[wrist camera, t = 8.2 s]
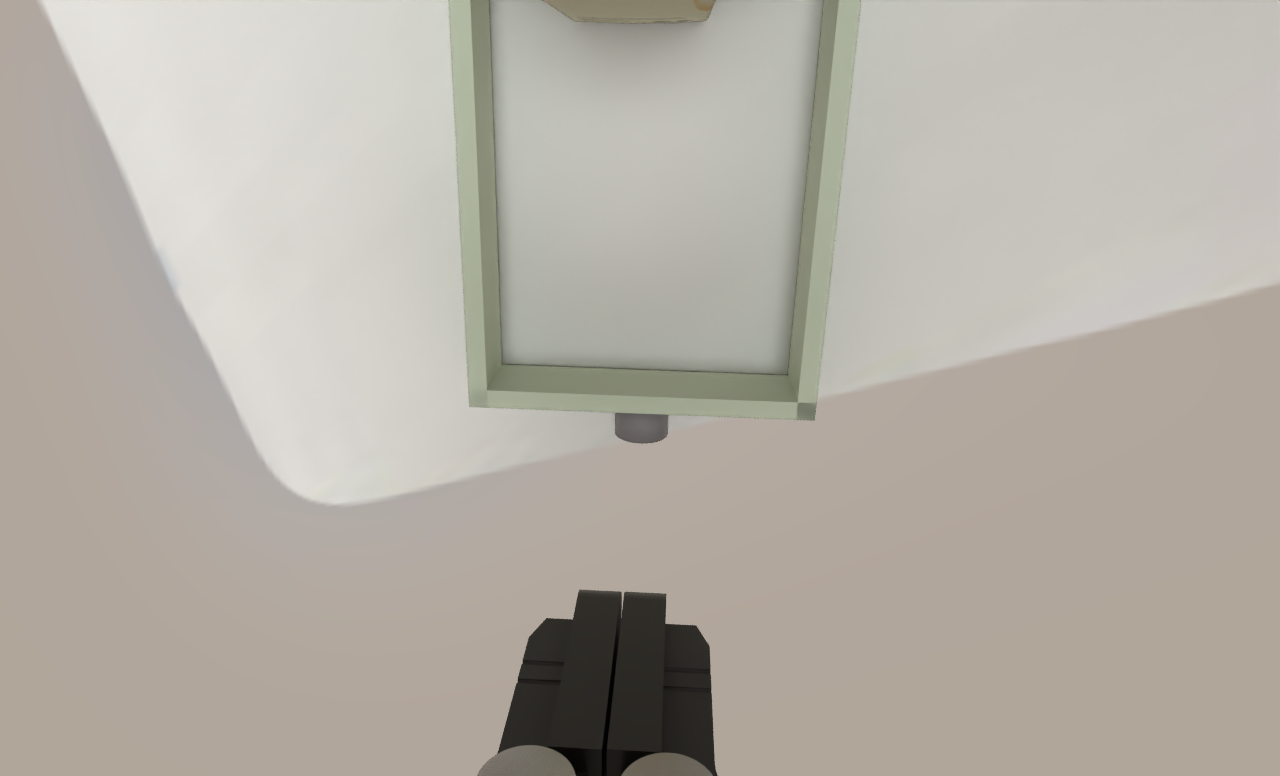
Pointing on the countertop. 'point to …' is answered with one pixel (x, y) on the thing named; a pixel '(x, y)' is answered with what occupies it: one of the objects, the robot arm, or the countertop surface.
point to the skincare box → (634, 10)
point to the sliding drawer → (627, 391)
